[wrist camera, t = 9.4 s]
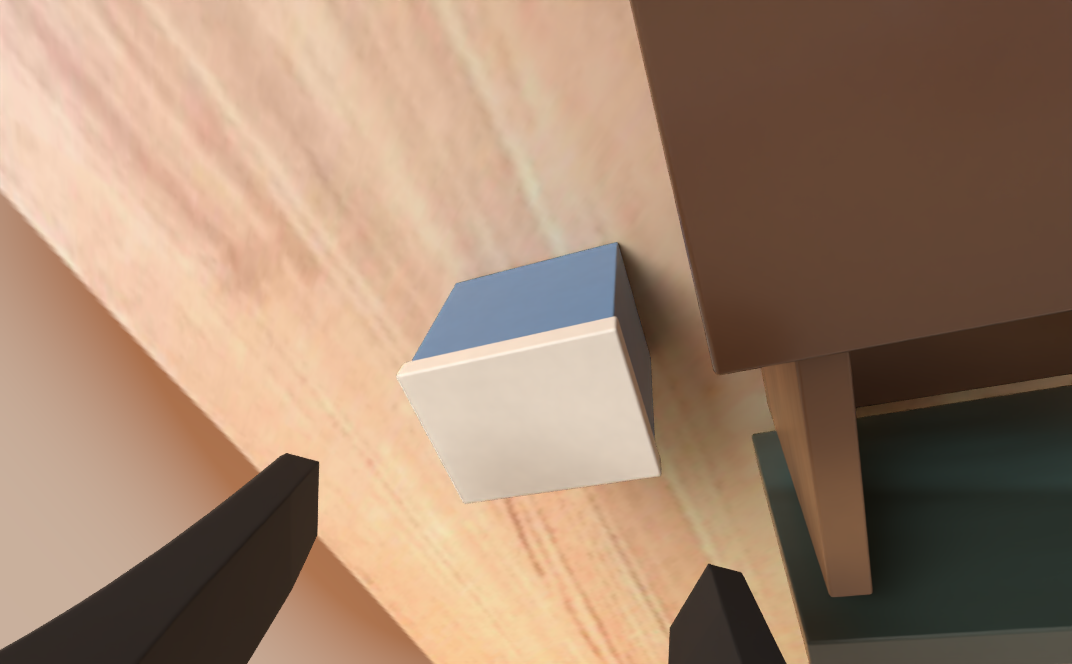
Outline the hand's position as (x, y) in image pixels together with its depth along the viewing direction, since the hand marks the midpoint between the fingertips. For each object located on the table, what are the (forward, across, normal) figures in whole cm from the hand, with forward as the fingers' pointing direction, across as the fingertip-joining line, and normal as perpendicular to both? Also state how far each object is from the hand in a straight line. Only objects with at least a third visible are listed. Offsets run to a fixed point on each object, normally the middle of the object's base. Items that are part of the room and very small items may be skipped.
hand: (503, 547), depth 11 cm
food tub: (+8, 0, 0) cm, 8 cm away
